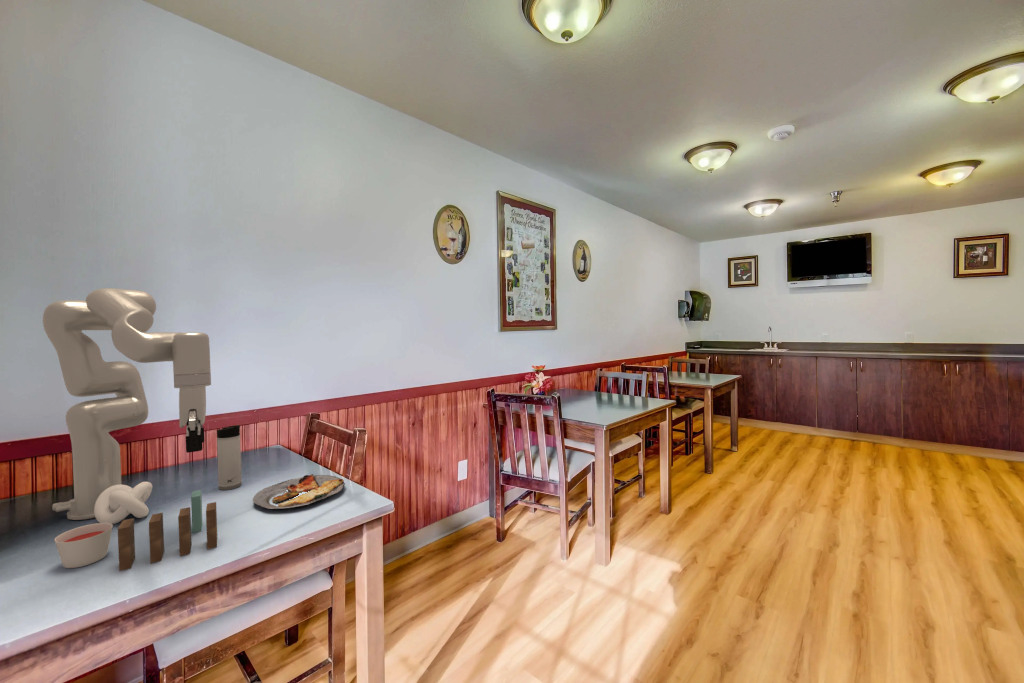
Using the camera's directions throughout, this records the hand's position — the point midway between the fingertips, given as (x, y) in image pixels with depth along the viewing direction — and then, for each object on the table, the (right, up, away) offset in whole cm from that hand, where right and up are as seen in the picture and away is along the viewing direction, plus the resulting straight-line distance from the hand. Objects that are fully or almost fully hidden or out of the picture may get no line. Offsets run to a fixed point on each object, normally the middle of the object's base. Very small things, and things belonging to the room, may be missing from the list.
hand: (195, 447), depth 107 cm
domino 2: (+2, -21, -13) cm, 25 cm away
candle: (-14, -22, -14) cm, 29 cm away
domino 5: (+10, -21, -8) cm, 25 cm away
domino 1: (-3, -21, -16) cm, 27 cm away
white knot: (-23, -21, +6) cm, 32 cm away
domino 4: (0, -21, 0) cm, 21 cm away
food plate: (+17, -21, +21) cm, 34 cm away
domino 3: (+6, -21, -11) cm, 24 cm away
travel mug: (-11, -21, +29) cm, 37 cm away
